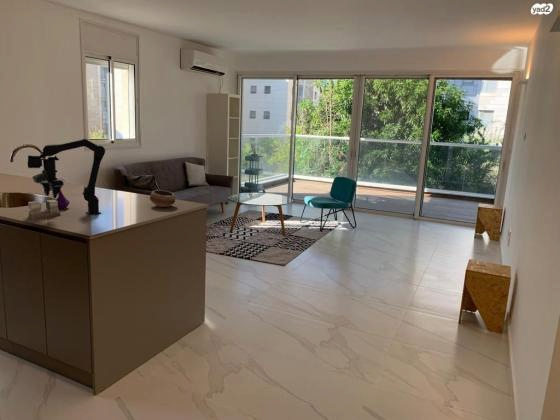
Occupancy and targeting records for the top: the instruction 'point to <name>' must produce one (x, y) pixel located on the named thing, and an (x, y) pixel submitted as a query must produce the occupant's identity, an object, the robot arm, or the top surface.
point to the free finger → (52, 205)
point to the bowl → (162, 198)
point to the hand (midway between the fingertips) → (51, 196)
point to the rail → (40, 211)
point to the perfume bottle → (62, 200)
